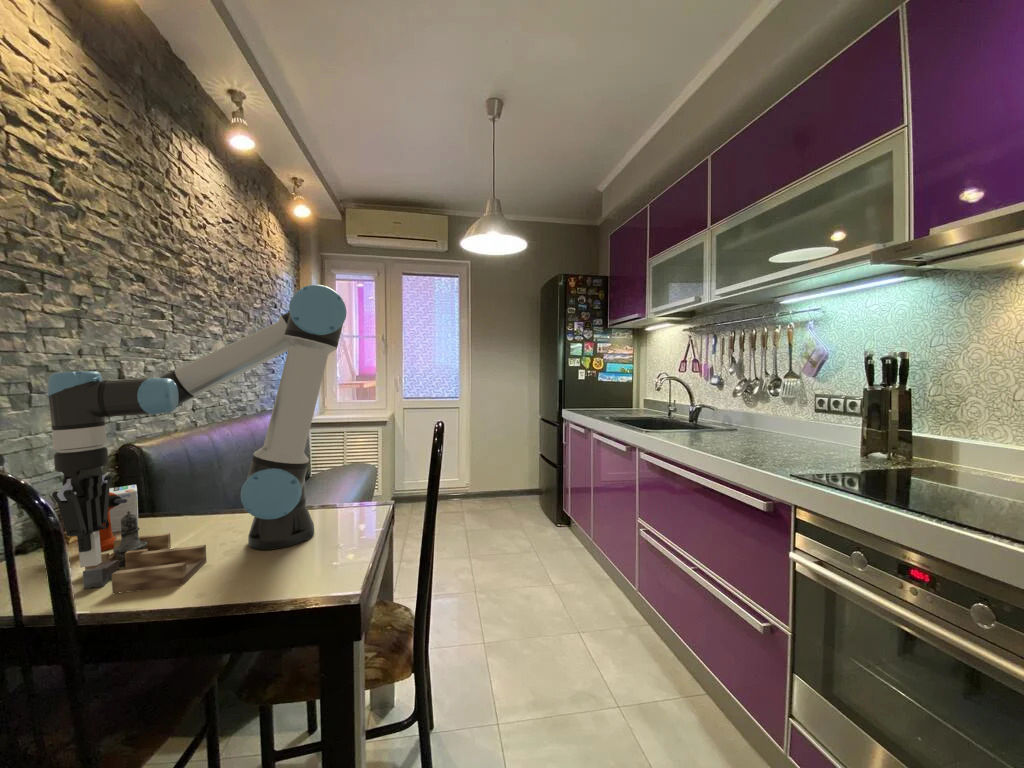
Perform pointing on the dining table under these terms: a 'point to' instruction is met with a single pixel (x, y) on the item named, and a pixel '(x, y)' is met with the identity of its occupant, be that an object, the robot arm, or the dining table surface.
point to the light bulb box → (123, 505)
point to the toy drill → (109, 524)
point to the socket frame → (134, 556)
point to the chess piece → (128, 537)
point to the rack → (161, 569)
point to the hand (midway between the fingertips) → (91, 564)
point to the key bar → (100, 574)
